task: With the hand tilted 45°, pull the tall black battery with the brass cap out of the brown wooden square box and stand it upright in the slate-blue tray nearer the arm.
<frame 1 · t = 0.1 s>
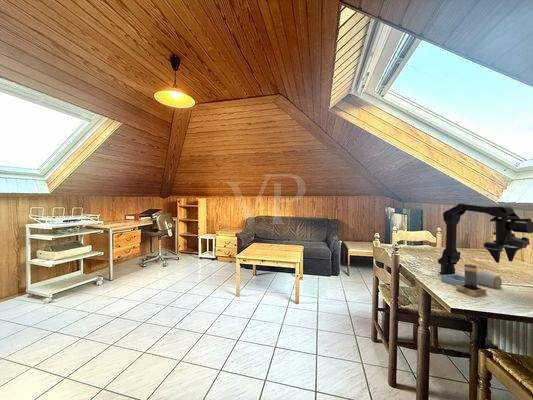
hand: (504, 262, 115), 15 cm above the table, tool pointing down, fingers open, 9 cm apart
tray: (458, 285, 123), on the table
grey cylinder: (489, 287, 121), on the table
brown wooden square box: (470, 294, 110), on the table
battery: (470, 292, 110), point 1 cm above the table, touching brown wooden square box
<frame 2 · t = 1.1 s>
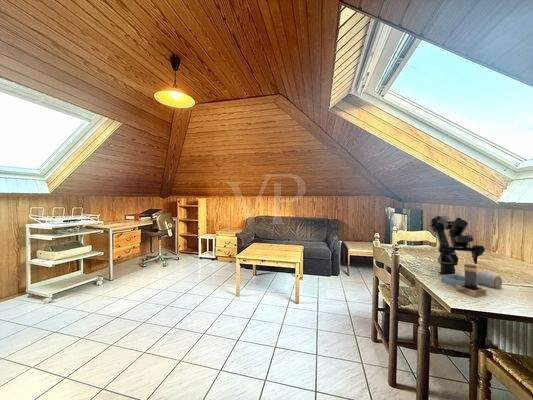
hand: (464, 262, 118), 13 cm above the table, tool tilted 45°, fingers open, 9 cm apart
nothing on the table moved.
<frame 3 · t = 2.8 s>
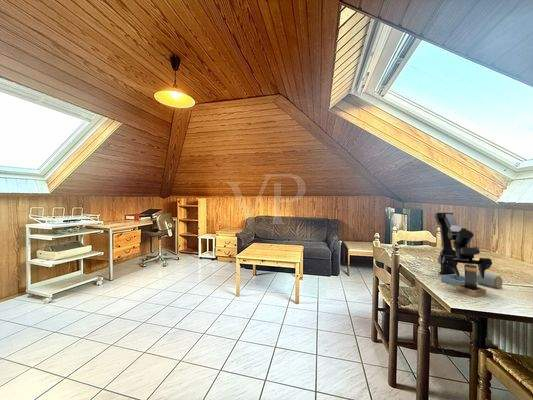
hand: (470, 277, 110), 9 cm above the table, tool tilted 45°, fingers open, 9 cm apart
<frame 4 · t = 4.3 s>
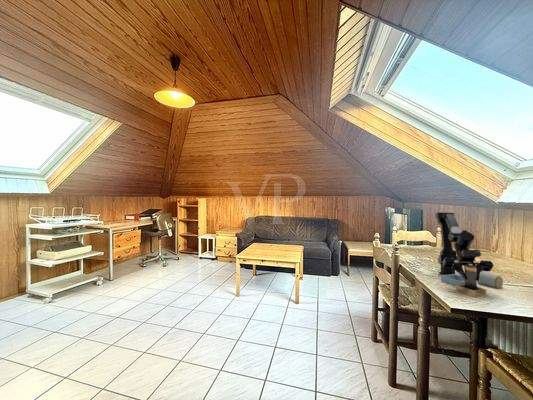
hand: (471, 279, 109), 8 cm above the table, tool tilted 45°, fingers closed on battery, 4 cm apart
battery: (470, 292, 110), point 1 cm above the table, touching brown wooden square box, gripper
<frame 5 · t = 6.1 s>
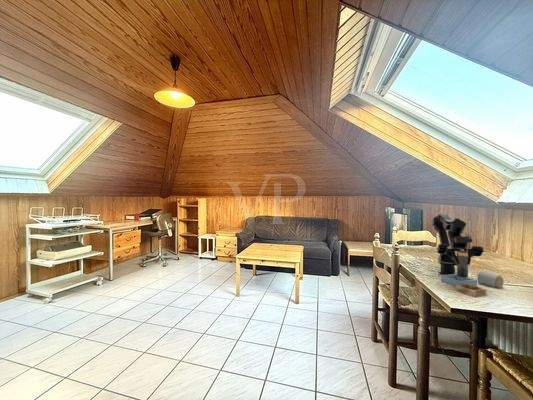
hand: (463, 264, 117), 13 cm above the table, tool tilted 45°, fingers closed on battery, 4 cm apart
battery: (462, 275, 119), point 6 cm above the table, touching gripper
when the fingers open (9 cm above the table, at t = 8.3 s): battery drops 1 cm, resting on tray.
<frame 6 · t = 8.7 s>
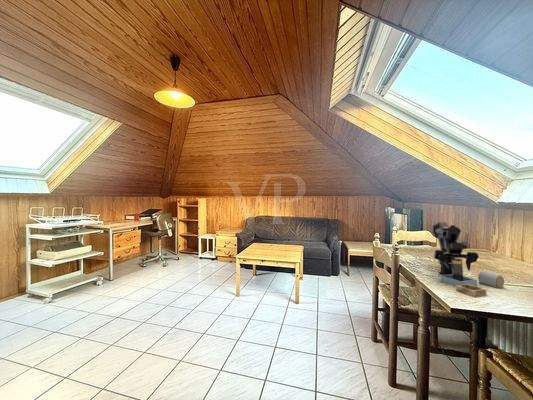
hand: (459, 269, 122), 9 cm above the table, tool tilted 45°, fingers open, 8 cm apart
battery: (458, 283, 123), point 1 cm above the table, touching tray
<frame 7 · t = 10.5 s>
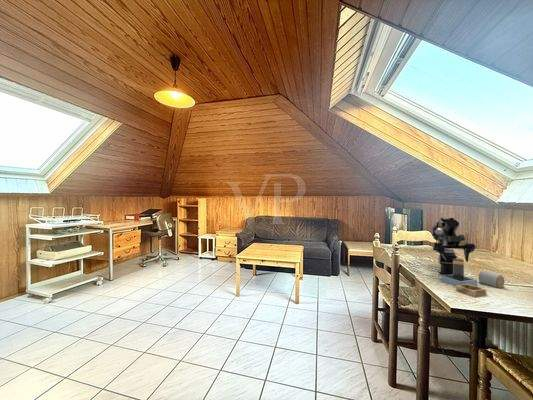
hand: (456, 261, 127), 12 cm above the table, tool tilted 35°, fingers open, 9 cm apart
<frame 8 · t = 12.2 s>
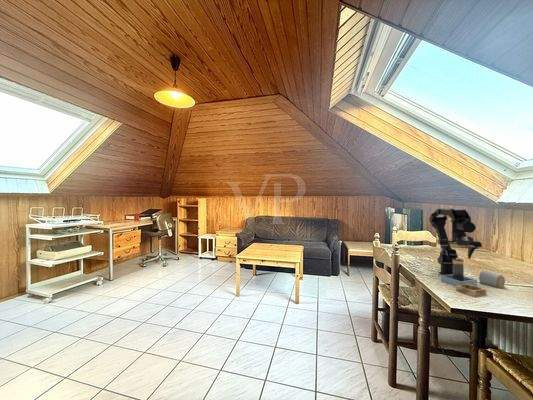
hand: (458, 257, 130), 13 cm above the table, tool pointing down, fingers open, 9 cm apart
at the end: battery 0.1 cm off-centre on the tray, point 0.8 cm above the tray's base; battery tilted 1°; the gripper is holding nothing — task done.
